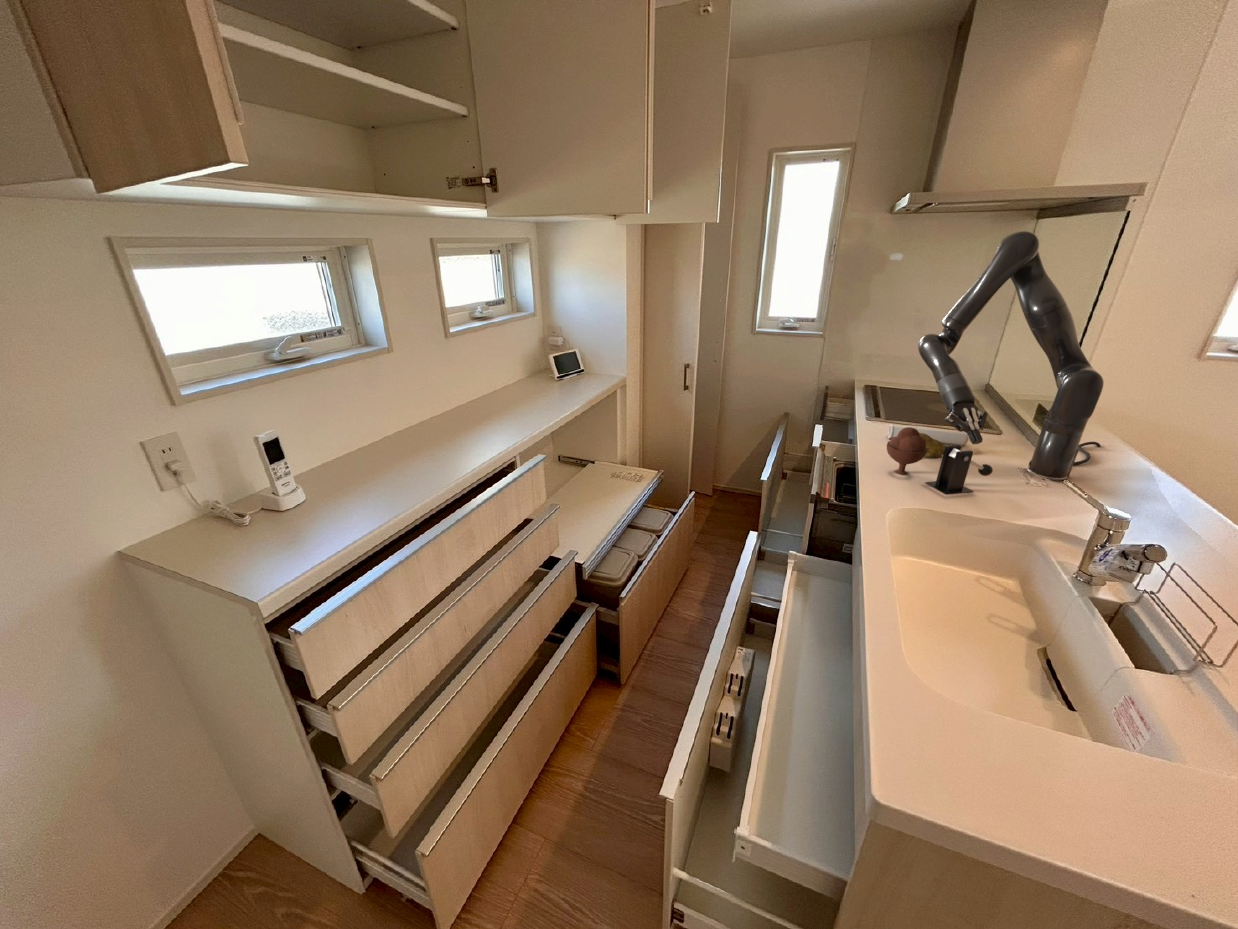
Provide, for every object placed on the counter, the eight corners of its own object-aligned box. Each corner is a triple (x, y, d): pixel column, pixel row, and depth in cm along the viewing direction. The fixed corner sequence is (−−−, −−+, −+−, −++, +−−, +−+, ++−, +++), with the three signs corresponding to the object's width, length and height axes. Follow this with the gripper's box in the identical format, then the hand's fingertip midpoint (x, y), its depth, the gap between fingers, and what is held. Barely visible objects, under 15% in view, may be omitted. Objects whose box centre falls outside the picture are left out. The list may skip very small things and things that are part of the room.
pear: (949, 462, 162) (955, 439, 159) (904, 458, 166) (910, 435, 163) (942, 453, 169) (948, 431, 166) (900, 449, 173) (905, 427, 170)
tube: (966, 432, 178) (889, 424, 185) (972, 432, 172) (892, 424, 180) (964, 447, 178) (887, 438, 186) (969, 447, 173) (890, 438, 181)
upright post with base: (950, 483, 147) (961, 442, 142) (972, 495, 140) (985, 452, 135) (923, 485, 145) (934, 444, 141) (944, 497, 138) (956, 455, 133)
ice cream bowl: (872, 471, 155) (882, 425, 150) (899, 466, 159) (909, 421, 153) (901, 484, 146) (912, 436, 140) (928, 479, 150) (941, 432, 144)
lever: (980, 474, 145) (987, 464, 144) (990, 479, 142) (998, 469, 141) (945, 456, 140) (953, 445, 139) (955, 460, 137) (963, 449, 136)
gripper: (945, 386, 146) (968, 439, 140) (983, 384, 148) (1008, 436, 142) (927, 399, 153) (948, 450, 147) (964, 396, 155) (987, 447, 149)
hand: (977, 443), depth 144 cm, fingers closed
